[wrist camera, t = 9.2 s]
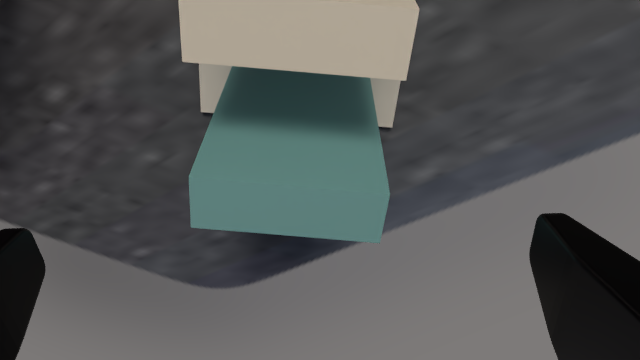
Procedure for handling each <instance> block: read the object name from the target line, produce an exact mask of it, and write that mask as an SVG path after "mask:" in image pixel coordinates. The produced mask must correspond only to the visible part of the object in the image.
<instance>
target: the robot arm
mask: <svg viewBox="0 0 640 360" xmlns="http://www.w3.org/2000/svg"><path fill="white" fill-rule="evenodd" d="M530 264H531V267H532V272H533V275H534V279H535V283H536V286H537V290H538V294H539V298H540V302H541V305H542V309H543V313H544V317H545V321H546V324H547V328H548V332H549V335H550V338H551V341H552V344H553V347H554V349H555V352H556V355H557V357H558V360H640V261H638V260H637V259H635V258H634V257H632V256H631V255H629V254H628V253H626V252H624V251H623V250H621V249H619V248H618V247H617V246H615V245H613V244H612V243H610V242H609V241H607V240H606V239H604V238H602V237H601V236H599V235H598V234H596V233H595V232H593V231H591V230H590V229H588V228H587V227H585V226H584V225H582V224H580V223H579V222H577V221H575V220H574V219H573V218H571V217H569V216H568V215H566V214H563V213H551V214H550V213H549V214H541V215H540V216H539V217H538V218H537V221H536V225H535V229H534V234H533V238H532V242H531V247H530ZM44 276H45V263H44V260H43V257H42V255H41V253H40V251H39V249H38V246H37V244H36V242H35V240H34V238H33V235H32V233H31V232H30V231H29V230H27V229H25V228H12V229H3V230H0V360H15V359H16V357H17V354H18V352H19V349H20V347H21V344H22V341H23V339H24V336H25V333H26V330H27V327H28V324H29V321H30V318H31V315H32V312H33V309H34V306H35V303H36V300H37V297H38V294H39V291H40V288H41V285H42V282H43V279H44Z"/></svg>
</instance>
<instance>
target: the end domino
mask: <svg viewBox="0 0 640 360" xmlns="http://www.w3.org/2000/svg"><path fill="white" fill-rule="evenodd" d="M189 194H190V216H191V228H203V229H215V230H227V231H239V232H251V233H263V234H275V235H287V236H299V237H311V238H323V239H335V240H347V241H359V242H371V243H380V239H381V235H382V230H383V225H384V221H385V216H386V211H387V206H388V202H389V197H390V191H389V185H388V180H387V174H386V168H385V162H384V156H383V150H382V145H381V139H380V133H379V127H378V121H377V115H376V109H375V104H374V98H373V92H372V86H371V80H370V78H367V77H356V76H344V75H332V74H320V73H309V72H297V71H285V70H273V69H262V68H250V67H238V66H232V68H231V70H230V73H229V75H228V78H227V80H226V83H225V86H224V88H223V91H222V93H221V96H220V98H219V101H218V103H217V106H216V108H215V111H214V114H213V116H212V119H211V121H210V124H209V126H208V129H207V131H206V134H205V137H204V139H203V142H202V144H201V147H200V149H199V152H198V154H197V157H196V159H195V162H194V165H193V167H192V170H191V172H190V175H189Z"/></svg>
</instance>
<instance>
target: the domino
mask: <svg viewBox="0 0 640 360" xmlns="http://www.w3.org/2000/svg"><path fill="white" fill-rule="evenodd" d="M418 14H419V7H418V5H417V3H416V1H415V0H179V16H180V33H181V49H182V62H191V63H203V64H214V65H226V66H238V67H250V68H262V69H273V70H285V71H297V72H309V73H320V74H332V75H344V76H356V77H367V78H379V79H391V80H403V81H406V78H407V73H408V67H409V62H410V57H411V51H412V46H413V41H414V36H415V30H416V25H417V20H418Z"/></svg>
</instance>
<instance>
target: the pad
mask: <svg viewBox="0 0 640 360" xmlns="http://www.w3.org/2000/svg"><path fill="white" fill-rule="evenodd" d="M231 68H232V66H226V65H214V64H203V63H199V77H200V100H201V112H207V113H214V111H215V108H216V106H217V103H218V101H219V98H220V96H221V93H222V91H223V88H224V86H225V83H226V80H227V78H228V75H229V73H230V70H231ZM370 80H371V86H372V92H373V98H374V104H375V109H376V115H377V121H378V126H379V127H391V128H392V125H393V120H394V114H395V109H396V103H397V98H398V92H399V87H400V81H401V80H391V79H379V78H370Z"/></svg>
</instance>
